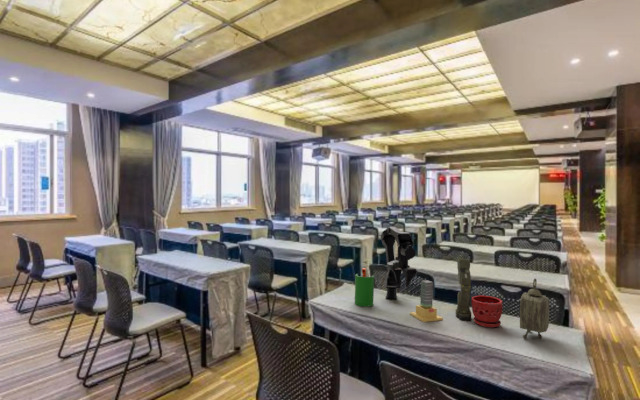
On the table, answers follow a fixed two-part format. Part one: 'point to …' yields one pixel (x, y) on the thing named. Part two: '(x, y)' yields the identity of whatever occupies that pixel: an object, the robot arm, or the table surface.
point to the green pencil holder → (364, 289)
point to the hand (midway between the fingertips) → (402, 284)
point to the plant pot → (487, 310)
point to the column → (426, 293)
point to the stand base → (426, 314)
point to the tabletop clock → (534, 311)
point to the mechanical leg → (464, 290)
